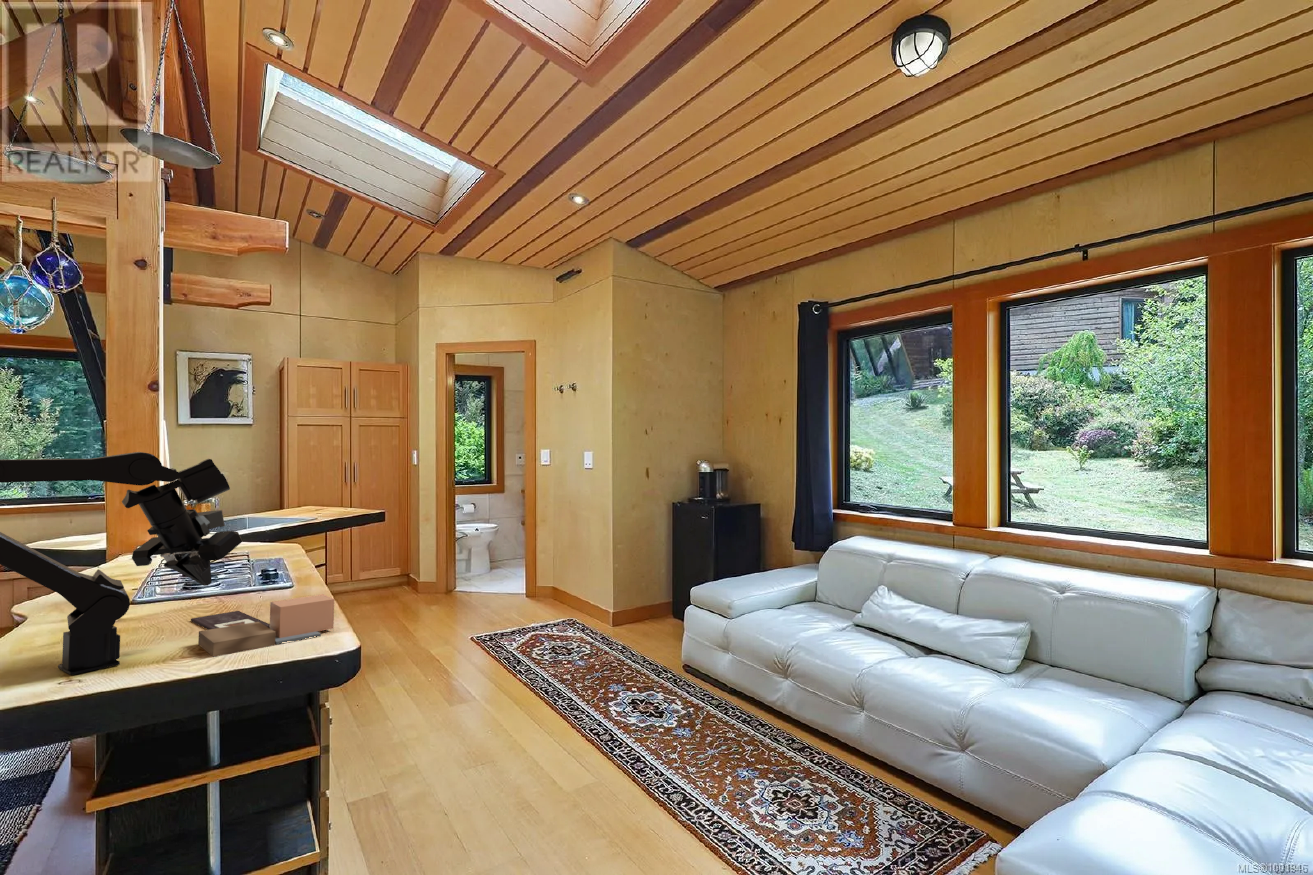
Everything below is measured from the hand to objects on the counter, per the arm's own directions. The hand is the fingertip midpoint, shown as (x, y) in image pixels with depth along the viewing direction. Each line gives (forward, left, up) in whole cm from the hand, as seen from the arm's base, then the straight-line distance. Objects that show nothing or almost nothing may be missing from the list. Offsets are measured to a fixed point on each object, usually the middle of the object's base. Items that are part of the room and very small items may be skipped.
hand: (208, 584), depth 123 cm
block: (+9, -7, -8) cm, 14 cm away
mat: (+12, -7, -11) cm, 18 cm away
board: (+3, -6, -11) cm, 13 cm away
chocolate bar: (+9, +10, -12) cm, 18 cm away
